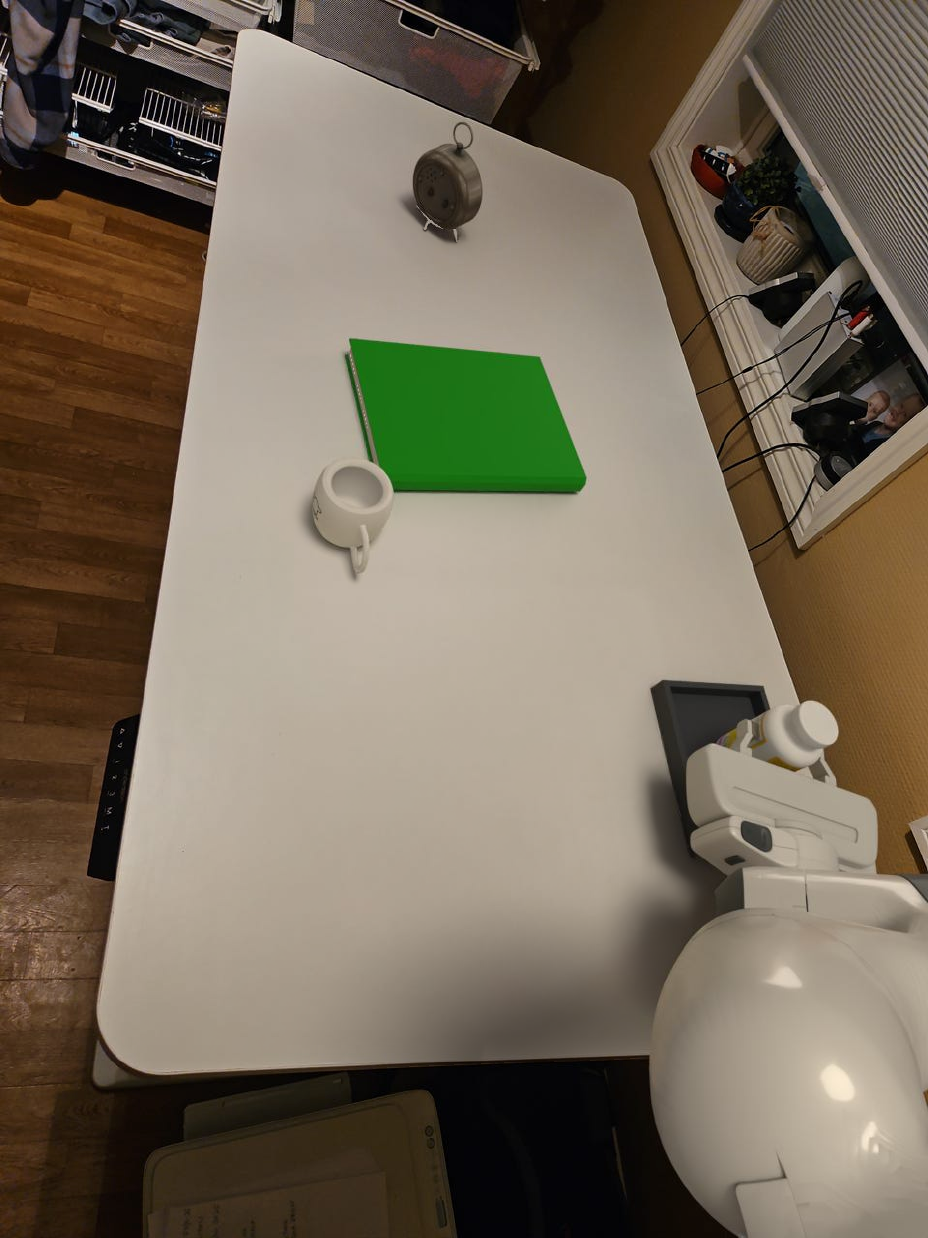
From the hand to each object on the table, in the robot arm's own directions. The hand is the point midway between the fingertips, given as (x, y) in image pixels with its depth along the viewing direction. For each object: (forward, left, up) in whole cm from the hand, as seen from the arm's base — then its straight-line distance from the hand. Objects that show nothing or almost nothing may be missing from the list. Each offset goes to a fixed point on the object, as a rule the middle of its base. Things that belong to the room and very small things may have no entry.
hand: (779, 734), depth 76 cm
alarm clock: (+71, +60, -10) cm, 93 cm away
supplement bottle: (-1, 0, -7) cm, 8 cm away
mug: (+7, +50, -10) cm, 51 cm away
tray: (-1, 0, -10) cm, 10 cm away
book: (+32, +43, -10) cm, 55 cm away
